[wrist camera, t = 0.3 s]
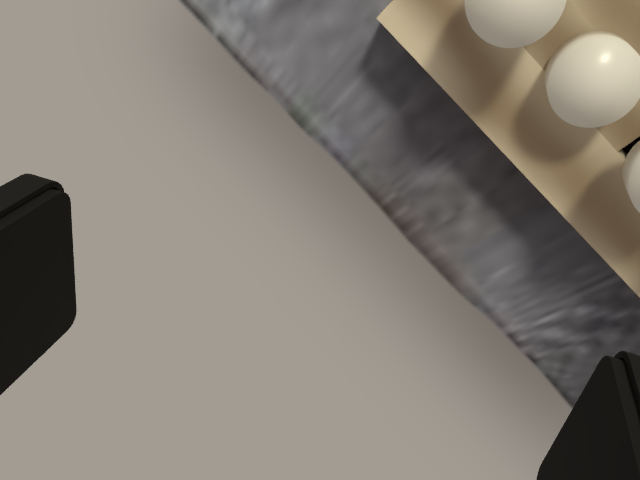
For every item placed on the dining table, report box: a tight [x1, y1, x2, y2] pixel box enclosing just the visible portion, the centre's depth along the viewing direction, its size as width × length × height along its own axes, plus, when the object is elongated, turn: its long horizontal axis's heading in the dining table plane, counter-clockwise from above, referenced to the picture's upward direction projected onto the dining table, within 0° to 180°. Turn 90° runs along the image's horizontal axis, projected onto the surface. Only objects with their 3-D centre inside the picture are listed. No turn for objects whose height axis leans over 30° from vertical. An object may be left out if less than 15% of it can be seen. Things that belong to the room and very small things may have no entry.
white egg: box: [545, 31, 640, 128], centre depth 31 cm, size 4×4×5 cm
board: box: [377, 0, 640, 297], centre depth 33 cm, size 12×26×3 cm, turn 47°
